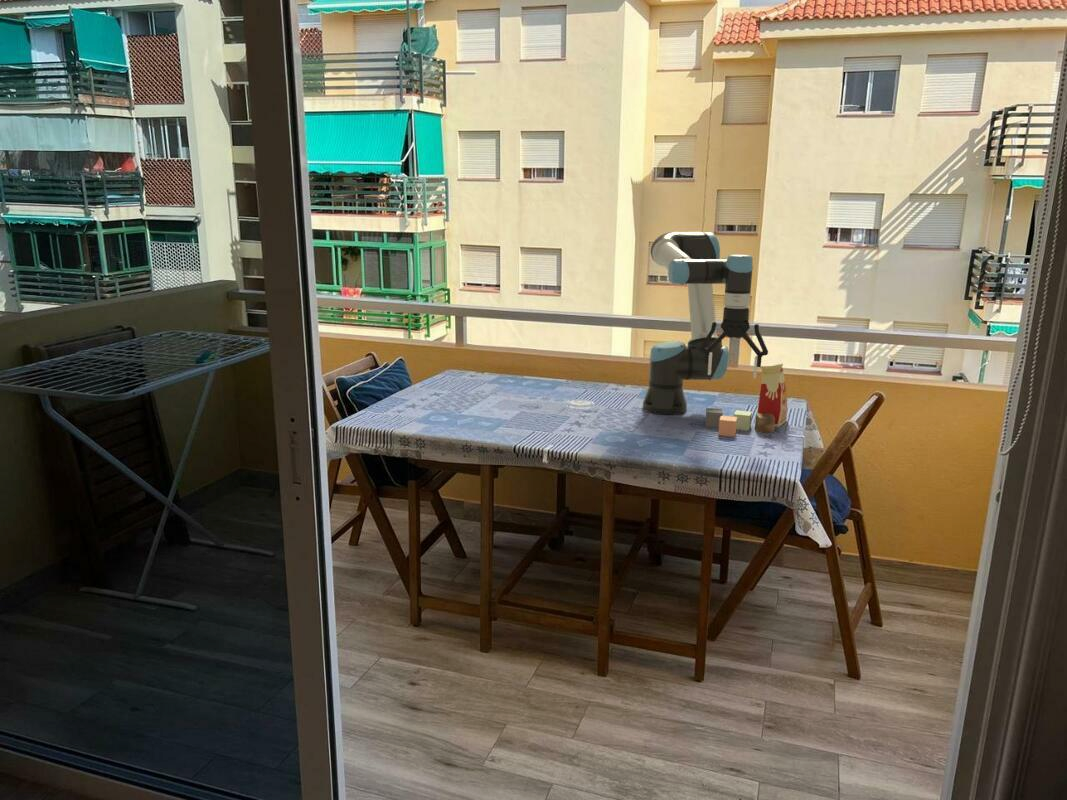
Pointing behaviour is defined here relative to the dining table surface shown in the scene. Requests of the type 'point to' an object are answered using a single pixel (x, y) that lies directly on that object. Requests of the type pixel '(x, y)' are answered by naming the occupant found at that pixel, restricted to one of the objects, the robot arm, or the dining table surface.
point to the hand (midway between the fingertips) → (731, 375)
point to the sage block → (743, 419)
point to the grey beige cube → (713, 417)
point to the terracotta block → (727, 425)
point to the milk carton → (773, 393)
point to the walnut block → (765, 423)
